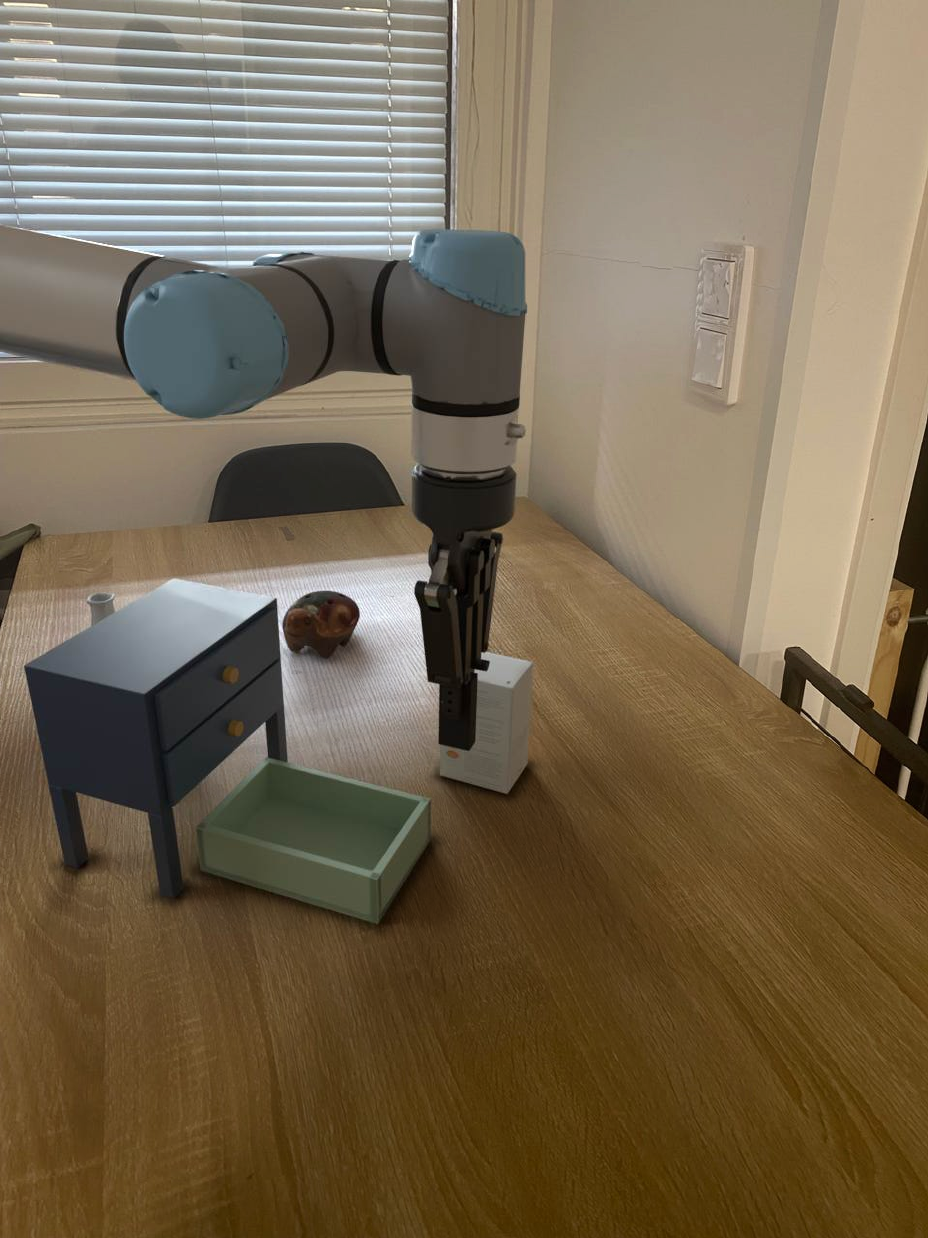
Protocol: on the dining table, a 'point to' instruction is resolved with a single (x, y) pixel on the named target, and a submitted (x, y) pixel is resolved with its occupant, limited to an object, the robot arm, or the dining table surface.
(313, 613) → the brown ceramic figurine
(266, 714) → the drawer cabinet
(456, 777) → the small box
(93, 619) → the flask
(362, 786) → the storage tub
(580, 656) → the dining table surface
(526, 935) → the dining table surface
